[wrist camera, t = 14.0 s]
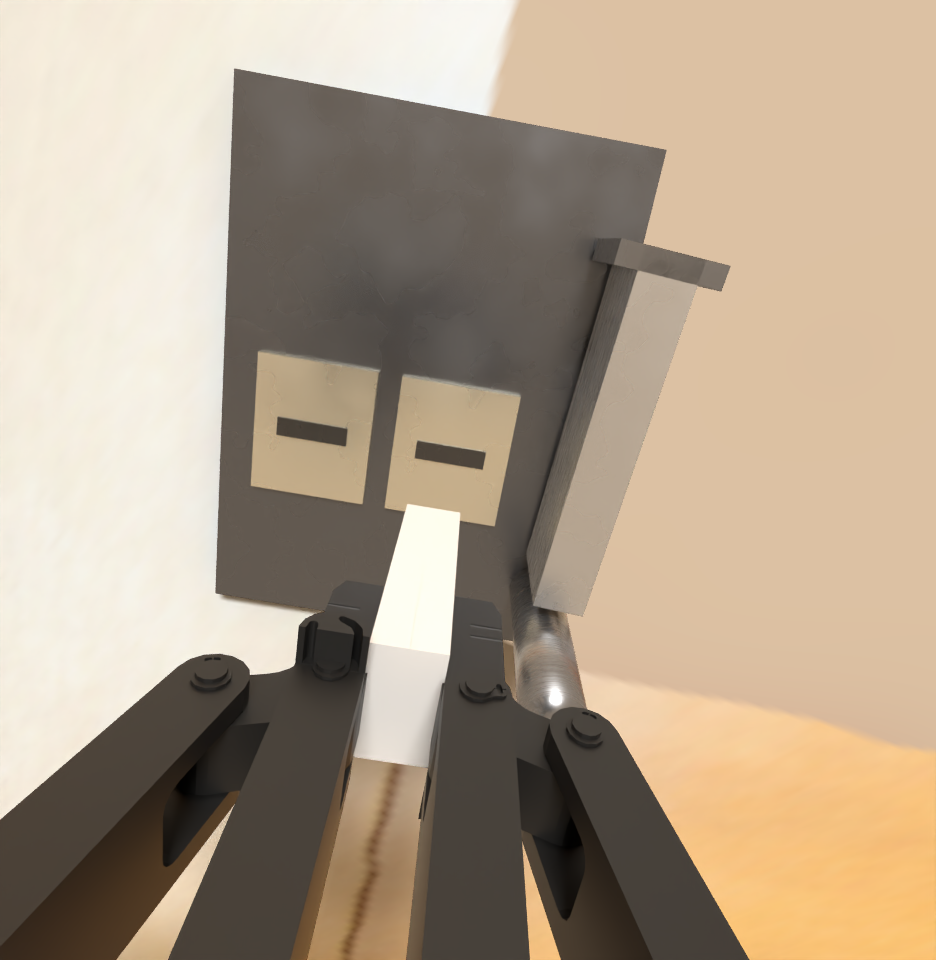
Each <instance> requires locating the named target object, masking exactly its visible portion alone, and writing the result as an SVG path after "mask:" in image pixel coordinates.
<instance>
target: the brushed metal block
mask: <svg viewBox="0 0 936 960" xmlns="http://www.w3.org/2000/svg"><path fill="white" fill-rule="evenodd" d="M592 260H593V261H597V262H601V263H605V264H609V265H612V267H611V271H610V274H609V277H608V281H607V284H606V287H605V291H604V294H603V297H602V301H601V304H600V307H599V311H598V314H597V317H596V321H595V324H594V327H593V331H592V334H591V338H590V341H589V344H588V348H587V351H586V354H585V358H584V361H583V364H582V368H581V371H580V374H579V378H578V381H577V384H576V388H575V391H574V394H573V398H572V401H571V404H570V408H569V411H568V415H567V418H566V421H565V425H564V428H563V431H562V435H561V438H560V441H559V445H558V448H557V451H556V455H555V458H554V461H553V465H552V468H551V471H550V475H549V478H548V481H547V485H546V488H545V492H544V495H543V498H542V502H541V505H540V508H539V512H538V515H537V518H536V522H535V525H534V528H533V532H532V535H531V538H530V542H529V545H528V548H527V552H526V555H527V563H528V571H529V579H530V587H531V595H532V602H533V606H537V607H541V608H546V609H550V610H555V611H559V612H564V613H568V614H573V615H578V616H583V614H584V611H585V608H586V606H587V602H588V600H589V597H590V594H591V591H592V588H593V585H594V582H595V580H596V577H597V574H598V571H599V568H600V565H601V562H602V559H603V557H604V554H605V551H606V548H607V545H608V542H609V539H610V536H611V533H612V531H613V528H614V525H615V522H616V519H617V516H618V513H619V510H620V507H621V505H622V502H623V499H624V496H625V493H626V490H627V487H628V485H629V481H630V479H631V476H632V473H633V470H634V467H635V464H636V461H637V459H638V456H639V453H640V450H641V447H642V444H643V441H644V438H645V436H646V432H647V429H648V427H649V424H650V421H651V418H652V415H653V412H654V409H655V407H656V404H657V401H658V398H659V395H660V392H661V389H662V387H663V384H664V380H665V378H666V375H667V372H668V369H669V366H670V363H671V360H672V358H673V355H674V352H675V349H676V346H677V343H678V340H679V337H680V335H681V332H682V329H683V326H684V323H685V320H686V317H687V314H688V311H689V309H690V306H691V303H692V300H693V297H694V294H695V291H696V289H697V286H699V287H703V288H708V289H713V290H717V291H722V288H723V285H724V283H725V280H726V277H727V274H728V271H729V269H730V266H729V265H725V264H720V263H717V262H713V261H709V260H705V259H701V258H697V257H693V256H689V255H685V254H682V253H678V252H673V251H670V250H666V249H662V248H658V247H654V246H650V245H646V244H642V243H638V242H634V241H631V240H627V239H623V238H598V241H597V245H596V248H595V252H594V255H593V259H592Z"/></svg>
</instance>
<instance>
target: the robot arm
mask: <svg viewBox="0 0 936 960" xmlns="http://www.w3.org/2000/svg"><path fill="white" fill-rule="evenodd" d="M459 524H460V513H459V512H453V511H447V510H441V509H435V508H429V507H423V506H417V505H411V504H407V507H406V511H405V515H404V518H403V522H402V526H401V529H400V533H399V537H398V540H397V544H396V548H395V551H394V555H393V559H392V562H391V566H390V570H389V573H388V577H387V581H386V584H385V586H379V585H373V584H367V583H360V582H354V581H348V580H346V581H345V582H344V583H342V584H341V585H340V586H338V587H337V588H336V589H334V590H333V592H332V595H331V597H330V600H329V602H328V605H327V607H326V609H325V612H323V613H317V614H314V615H312V616H310V617H308V618H306V619H305V620H304V621H303V622H302V623H301V624H300V625H299V631H298V641H297V652H296V662H295V665H294V666H293V667H292V668H290V669H287V670H284V671H281V672H277V673H270V674H259V675H250V671H249V668H248V667H247V666H246V665H245V663H244V662H243V661H241V660H239V659H237V658H235V657H233V656H228V655H223V654H210V655H202V656H199V657H195V658H192V659H190V660H188V661H186V662H185V663H183V664H181V665H180V666H178V667H177V668H176V669H175V670H174V671H173V672H171V673H170V674H169V675H168V676H167V677H166V678H164V679H163V680H162V681H161V682H160V683H159V684H157V685H156V686H155V687H154V688H153V689H152V690H150V691H149V692H148V693H147V694H146V695H145V696H143V697H142V698H141V699H140V700H139V701H138V702H136V703H135V704H134V705H133V706H132V707H131V708H130V709H128V710H127V711H126V712H125V713H124V714H123V715H121V716H120V717H119V718H118V719H117V720H116V721H114V722H113V723H112V724H111V725H110V726H109V727H107V728H106V729H105V730H104V731H103V732H102V733H100V734H99V735H98V736H97V737H96V738H95V739H94V740H92V741H91V742H90V743H89V744H88V745H87V746H85V747H84V748H83V749H82V750H81V751H80V752H78V753H77V754H76V755H75V756H74V757H73V758H71V759H70V760H69V761H68V762H67V763H66V764H64V765H63V766H62V767H61V768H60V769H59V770H58V771H56V772H55V773H54V774H53V775H52V776H51V777H49V778H48V779H47V780H46V781H45V782H44V783H42V784H41V785H40V786H39V787H38V788H37V789H35V790H34V791H33V792H32V793H31V794H30V795H28V796H27V797H26V798H25V799H24V800H23V801H21V802H20V803H19V804H18V805H17V806H16V807H15V808H13V809H12V810H11V811H10V812H9V813H8V814H6V815H5V816H4V817H3V818H2V819H1V820H0V960H116V959H117V958H118V957H119V955H120V954H121V953H122V951H123V950H124V949H125V947H126V946H127V945H128V944H129V942H130V941H131V940H132V938H133V937H134V936H135V934H136V933H137V932H138V930H139V929H140V928H141V926H142V925H143V924H144V922H145V921H146V920H147V919H148V917H149V916H150V915H151V913H152V912H153V911H154V909H155V908H156V907H157V905H158V904H159V903H160V901H161V900H162V899H163V897H164V896H165V895H166V894H167V892H168V891H169V890H170V888H171V887H172V886H173V884H174V883H175V882H176V880H177V879H178V878H179V876H180V875H181V874H182V872H183V871H184V870H185V868H186V867H187V866H188V865H189V863H190V862H191V861H192V859H193V858H194V857H195V855H196V854H197V853H198V851H199V850H200V849H201V847H202V846H203V845H204V843H205V842H206V841H207V840H208V838H209V837H210V836H211V834H212V833H213V832H214V830H215V829H216V828H217V826H218V825H219V824H220V822H221V821H222V820H223V818H224V817H225V816H226V815H227V813H228V812H229V811H230V809H231V808H232V807H233V805H234V804H235V805H234V807H233V809H232V812H231V814H230V816H229V819H228V821H227V823H226V826H225V828H224V830H223V833H222V835H221V837H220V840H219V842H218V844H217V847H216V849H215V851H214V854H213V856H212V858H211V861H210V863H209V865H208V868H207V870H206V872H205V875H204V877H203V879H202V882H201V884H200V886H199V889H198V891H197V893H196V896H195V898H194V900H193V903H192V905H191V907H190V910H189V912H188V914H187V917H186V919H185V921H184V924H183V926H182V928H181V931H180V933H179V935H178V938H177V940H176V942H175V945H174V947H173V949H172V952H171V954H170V956H169V959H168V960H307V957H308V953H309V949H310V945H311V940H312V936H313V932H314V928H315V923H316V919H317V915H318V911H319V907H320V902H321V898H322V894H323V890H324V885H325V881H326V877H327V873H328V869H329V864H330V860H331V856H332V852H333V848H334V843H335V839H336V835H337V831H338V826H339V822H340V818H341V814H342V810H343V805H344V801H345V797H346V793H347V788H348V784H349V780H350V774H351V767H352V760H353V757H357V758H364V759H370V760H377V761H384V762H391V763H397V764H404V765H411V766H417V767H424V768H428V772H427V777H426V782H425V787H424V792H423V797H422V803H421V808H420V813H419V818H418V819H421V824H420V833H419V843H418V852H417V862H416V871H415V881H414V890H413V900H412V909H411V919H410V928H409V938H408V947H407V957H406V960H530V955H529V940H528V925H527V910H526V895H525V880H524V864H523V849H522V842H523V845H524V848H525V851H526V854H527V857H528V860H529V863H530V866H531V869H532V872H533V875H534V878H535V881H536V884H537V888H538V891H539V894H540V897H541V900H542V903H543V906H544V909H545V912H546V915H547V918H548V921H549V924H550V927H551V930H552V933H553V936H554V940H555V943H556V946H557V949H558V952H559V955H560V958H561V960H749V958H748V957H747V955H746V953H745V952H744V950H743V948H742V946H741V945H740V943H739V941H738V939H737V938H736V936H735V934H734V932H733V931H732V929H731V927H730V926H729V924H728V922H727V920H726V919H725V917H724V915H723V913H722V912H721V910H720V908H719V906H718V905H717V903H716V901H715V900H714V898H713V896H712V894H711V893H710V891H709V889H708V887H707V886H706V884H705V882H704V880H703V879H702V877H701V875H700V874H699V872H698V870H697V868H696V867H695V865H694V863H693V861H692V860H691V858H690V856H689V854H688V853H687V851H686V849H685V848H684V846H683V844H682V842H681V841H680V839H679V837H678V835H677V834H676V832H675V830H674V828H673V827H672V825H671V823H670V822H669V820H668V818H667V816H666V815H665V813H664V811H663V809H662V808H661V806H660V804H659V802H658V801H657V799H656V797H655V795H654V794H653V792H652V790H651V789H650V787H649V785H648V783H647V782H646V780H645V778H644V776H643V775H642V773H641V771H640V769H639V768H638V766H637V764H636V763H635V761H634V759H633V757H632V756H631V754H630V752H629V750H628V749H627V747H626V745H625V743H624V742H623V740H622V738H621V737H620V735H619V733H618V731H617V730H616V729H615V728H614V726H613V725H612V724H611V723H610V722H609V721H608V720H606V719H605V718H604V717H602V716H601V715H599V714H598V713H595V712H593V711H590V710H588V709H585V708H577V707H568V708H563V709H560V710H558V711H557V712H555V713H554V714H553V715H552V717H551V719H548V718H546V717H543V716H541V715H538V714H536V713H533V712H531V711H529V710H527V709H525V708H524V707H523V706H521V705H520V704H518V703H517V702H516V701H515V700H514V699H513V698H512V693H511V690H510V687H509V686H508V685H507V684H506V683H505V673H504V655H503V643H502V641H503V637H502V619H501V614H500V613H499V611H498V610H497V608H496V607H495V606H494V604H493V603H492V602H488V601H482V600H475V599H469V598H463V597H457V596H454V593H455V579H456V566H457V552H458V538H459ZM353 755H354V756H353ZM428 765H429V766H428Z"/></svg>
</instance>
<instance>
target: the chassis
mask: <svg viewBox="0 0 936 960" xmlns="http://www.w3.org/2000/svg"><path fill="white" fill-rule="evenodd" d="M665 154H666V150H664V149H659V148H654V147H648V146H643V145H638V144H632V143H627V142H621V141H616V140H611V139H606V138H601V137H595V136H589V135H584V134H579V133H574V132H568V131H563V130H558V129H553V128H547V127H542V126H536V125H532V124H526V123H521V122H516V121H510V120H505V119H500V118H494V117H489V116H484V115H478V114H473V113H468V112H463V111H457V110H452V109H447V108H441V107H436V106H431V105H425V104H420V103H415V102H409V101H404V100H399V99H394V98H388V97H383V96H378V95H372V94H367V93H362V92H356V91H351V90H346V89H340V88H335V87H330V86H324V85H319V84H314V83H309V82H303V81H298V80H293V79H287V78H282V77H277V76H271V75H266V74H261V73H255V72H250V71H245V70H240V69H234V92H233V119H232V147H231V175H230V203H229V231H228V259H227V287H226V315H225V342H224V370H223V398H222V426H221V454H220V482H219V510H218V538H217V565H216V593H217V594H223V595H230V596H236V597H242V598H248V599H255V600H261V601H267V602H273V603H279V604H286V605H292V606H298V607H304V608H311V609H317V610H323V611H325V609H326V607H327V605H328V602H329V600H330V597H331V595H332V592H333V590H334V589H336V588H337V587H338V586H340V585H341V584H342V583H344V582H345V581H346V580H348V581H354V582H360V583H367V584H373V585H379V586H385V584H386V581H387V577H388V573H389V570H390V566H391V562H392V559H393V555H394V551H395V548H396V544H397V540H398V537H399V533H400V529H401V526H402V522H403V518H404V515H405V511H406V507H407V504H411V505H417V506H423V507H429V508H435V509H441V510H447V511H453V512H459V513H460V524H459V538H458V552H457V566H456V579H455V593H454V596H457V597H463V598H469V599H475V600H482V601H488V602H492V603H493V604H494V606H495V607H496V608H497V610H498V611H499V613H500V614H501V619H502V637H503V640H510V641H513V649H514V665H515V680H516V695H517V703H518V704H520V705H521V706H523V707H524V708H525V709H527V710H529V711H531V712H533V713H536V714H538V715H541V716H543V717H546V718H548V719H551V717H552V715H553V714H554V713H555V712H557V711H558V710H560V709H563V708H568V707H577V708H585V709H587V708H586V703H585V698H584V694H583V689H582V684H581V680H580V675H579V670H578V666H577V661H576V657H575V652H574V647H573V643H572V638H571V633H570V628H569V624H568V619H567V614H566V613H564V612H559V611H555V610H550V609H546V608H541V607H537V606H533V602H532V595H531V587H530V579H529V571H528V563H527V555H526V552H527V548H528V545H529V542H530V538H531V535H532V532H533V528H534V525H535V522H536V518H537V515H538V512H539V508H540V505H541V502H542V498H543V495H544V492H545V488H546V485H547V481H548V478H549V475H550V471H551V468H552V465H553V461H554V458H555V455H556V451H557V448H558V445H559V441H560V438H561V435H562V431H563V428H564V425H565V421H566V418H567V415H568V411H569V408H570V404H571V401H572V398H573V394H574V391H575V388H576V384H577V381H578V378H579V374H580V371H581V368H582V364H583V361H584V358H585V354H586V351H587V348H588V344H589V341H590V338H591V334H592V331H593V327H594V324H595V321H596V317H597V314H598V311H599V307H600V304H601V301H602V297H603V294H604V291H605V287H606V284H607V281H608V277H609V274H610V271H611V267H612V265H609V264H605V263H601V262H597V261H593V260H592V259H593V255H594V252H595V248H596V245H597V241H598V238H623V239H627V240H631V241H634V242H638V243H642V244H643V242H644V238H645V234H646V230H647V226H648V222H649V218H650V214H651V210H652V206H653V202H654V198H655V194H656V189H657V186H658V182H659V178H660V174H661V170H662V166H663V162H664V158H665Z"/></svg>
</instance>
